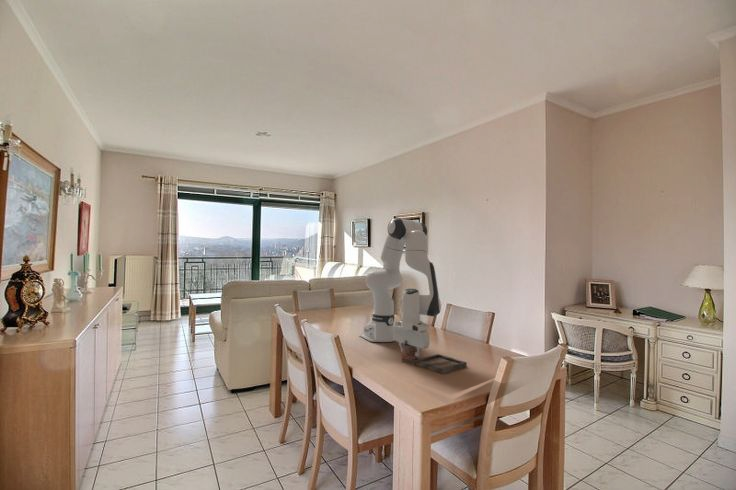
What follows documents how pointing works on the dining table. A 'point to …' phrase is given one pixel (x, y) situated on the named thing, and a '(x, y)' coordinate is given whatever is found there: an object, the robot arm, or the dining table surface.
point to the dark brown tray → (440, 363)
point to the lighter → (408, 352)
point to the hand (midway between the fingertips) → (410, 354)
